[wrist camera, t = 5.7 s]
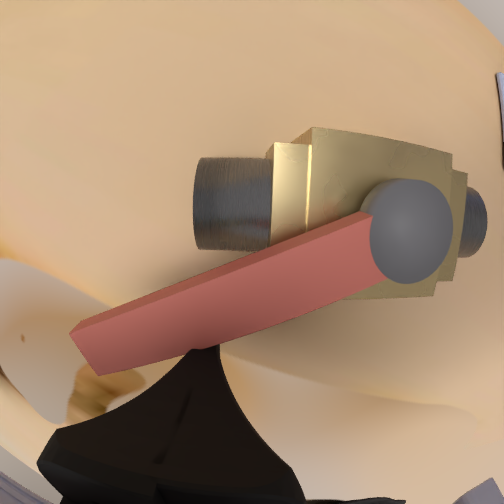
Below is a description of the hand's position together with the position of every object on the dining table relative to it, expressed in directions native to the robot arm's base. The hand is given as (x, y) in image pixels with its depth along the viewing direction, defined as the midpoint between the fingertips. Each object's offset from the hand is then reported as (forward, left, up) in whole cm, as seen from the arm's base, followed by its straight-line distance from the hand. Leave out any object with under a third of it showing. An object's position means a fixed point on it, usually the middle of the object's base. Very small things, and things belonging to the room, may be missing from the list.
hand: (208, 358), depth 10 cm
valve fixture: (-6, -5, -6) cm, 10 cm away
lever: (-2, -3, 0) cm, 3 cm away
